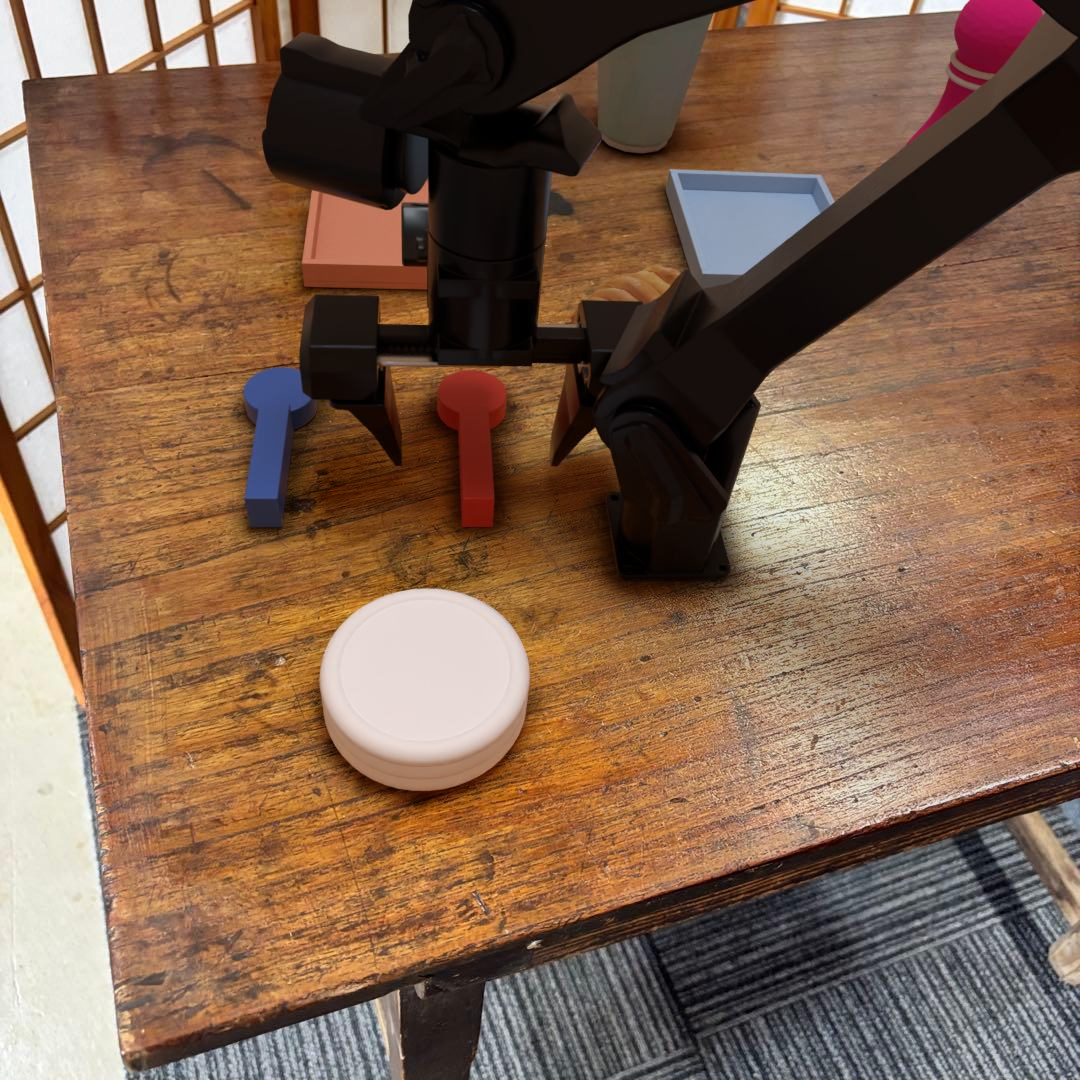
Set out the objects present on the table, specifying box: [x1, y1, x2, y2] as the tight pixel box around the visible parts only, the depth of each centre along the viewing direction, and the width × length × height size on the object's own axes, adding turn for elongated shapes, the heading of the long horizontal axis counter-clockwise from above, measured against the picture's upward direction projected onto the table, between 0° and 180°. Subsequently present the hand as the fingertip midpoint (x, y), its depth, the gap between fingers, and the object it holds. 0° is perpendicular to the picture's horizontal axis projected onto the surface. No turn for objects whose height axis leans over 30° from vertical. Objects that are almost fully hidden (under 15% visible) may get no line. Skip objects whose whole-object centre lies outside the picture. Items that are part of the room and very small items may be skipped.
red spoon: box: [436, 369, 508, 528], centre depth 62 cm, size 12×4×2 cm, turn 4°
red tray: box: [301, 178, 428, 291], centre depth 78 cm, size 15×13×2 cm
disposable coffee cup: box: [597, 13, 715, 154], centre depth 87 cm, size 11×11×15 cm
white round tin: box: [318, 587, 531, 792], centre depth 50 cm, size 10×10×4 cm
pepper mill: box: [904, 0, 1044, 147], centre depth 79 cm, size 7×7×20 cm
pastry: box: [570, 263, 681, 324], centre depth 71 cm, size 9×7×4 cm
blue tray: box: [665, 168, 836, 289], centre depth 81 cm, size 15×13×2 cm
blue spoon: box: [242, 366, 318, 528], centre depth 61 cm, size 12×4×2 cm, turn 4°
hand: (476, 461), depth 61 cm, fingers open, 9 cm apart
